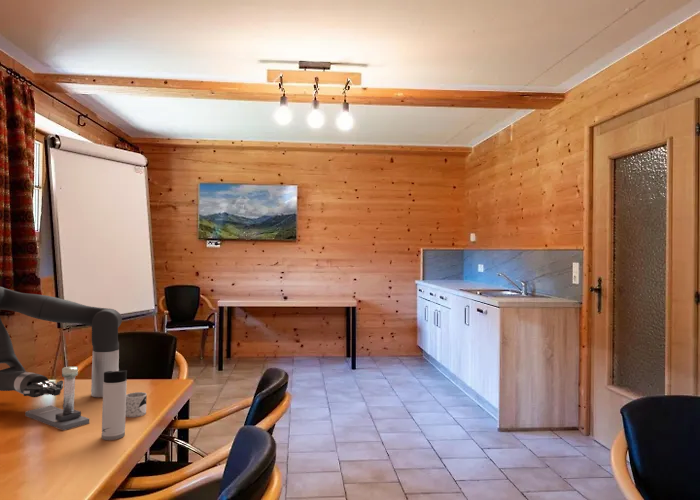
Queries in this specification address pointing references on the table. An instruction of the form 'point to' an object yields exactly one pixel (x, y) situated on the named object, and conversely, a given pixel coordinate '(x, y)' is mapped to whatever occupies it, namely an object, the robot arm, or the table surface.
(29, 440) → the table surface
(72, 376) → the fader
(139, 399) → the mug
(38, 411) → the fader panel
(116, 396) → the travel mug
